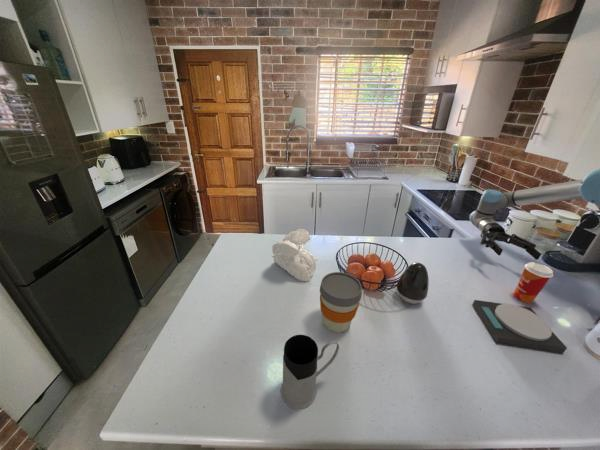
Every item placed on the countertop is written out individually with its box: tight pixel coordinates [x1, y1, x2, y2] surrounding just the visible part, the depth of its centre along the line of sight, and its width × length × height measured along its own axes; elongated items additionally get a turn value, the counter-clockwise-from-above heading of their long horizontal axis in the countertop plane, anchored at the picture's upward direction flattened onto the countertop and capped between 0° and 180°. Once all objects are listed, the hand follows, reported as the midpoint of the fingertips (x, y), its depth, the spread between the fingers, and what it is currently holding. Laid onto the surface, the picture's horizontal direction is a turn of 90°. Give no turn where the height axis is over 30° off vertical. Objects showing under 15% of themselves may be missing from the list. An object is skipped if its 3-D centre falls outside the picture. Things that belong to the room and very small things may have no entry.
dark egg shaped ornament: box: [396, 262, 430, 305], centre depth 87 cm, size 10×10×15 cm
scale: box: [472, 299, 568, 354], centre depth 80 cm, size 18×16×4 cm
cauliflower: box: [271, 228, 318, 282], centre depth 102 cm, size 19×20×20 cm
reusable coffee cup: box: [319, 271, 363, 333], centre depth 77 cm, size 13×13×15 cm
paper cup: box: [513, 261, 554, 304], centre depth 90 cm, size 8×8×14 cm
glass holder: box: [280, 334, 340, 411], centre depth 58 cm, size 9×14×15 cm, turn 112°
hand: (519, 254), depth 97 cm, fingers open, 13 cm apart
